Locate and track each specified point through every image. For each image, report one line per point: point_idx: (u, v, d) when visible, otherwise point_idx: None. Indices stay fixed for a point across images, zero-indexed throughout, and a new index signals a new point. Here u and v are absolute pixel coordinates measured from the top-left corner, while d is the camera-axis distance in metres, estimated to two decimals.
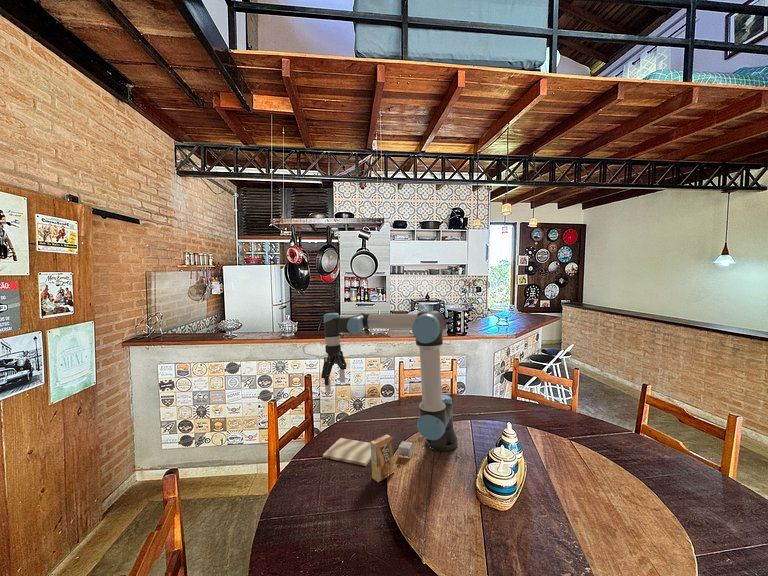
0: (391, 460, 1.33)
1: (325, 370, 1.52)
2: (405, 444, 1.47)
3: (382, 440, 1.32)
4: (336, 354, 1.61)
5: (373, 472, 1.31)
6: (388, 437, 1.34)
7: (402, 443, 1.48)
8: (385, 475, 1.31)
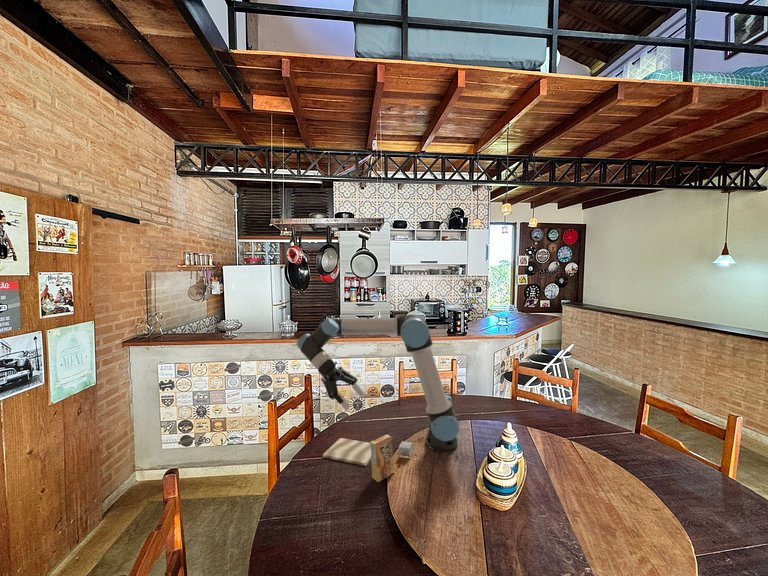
0: (391, 460, 1.33)
1: (329, 388, 1.30)
2: (405, 444, 1.47)
3: (382, 440, 1.32)
4: (334, 370, 1.40)
5: (373, 472, 1.31)
6: (388, 437, 1.34)
7: (402, 443, 1.48)
8: (385, 475, 1.31)
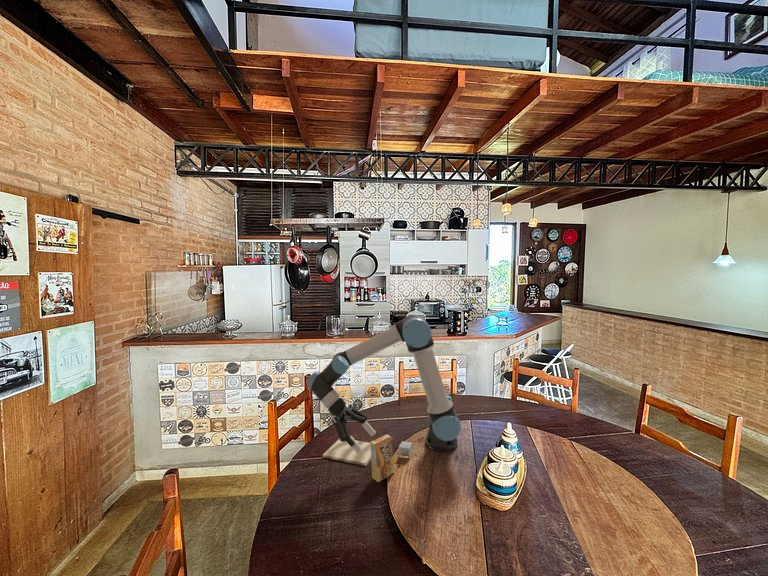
0: (391, 460, 1.33)
1: (340, 431, 1.29)
2: (405, 444, 1.47)
3: (382, 440, 1.32)
4: (344, 410, 1.39)
5: (373, 472, 1.31)
6: (388, 437, 1.34)
7: (402, 443, 1.48)
8: (385, 475, 1.31)
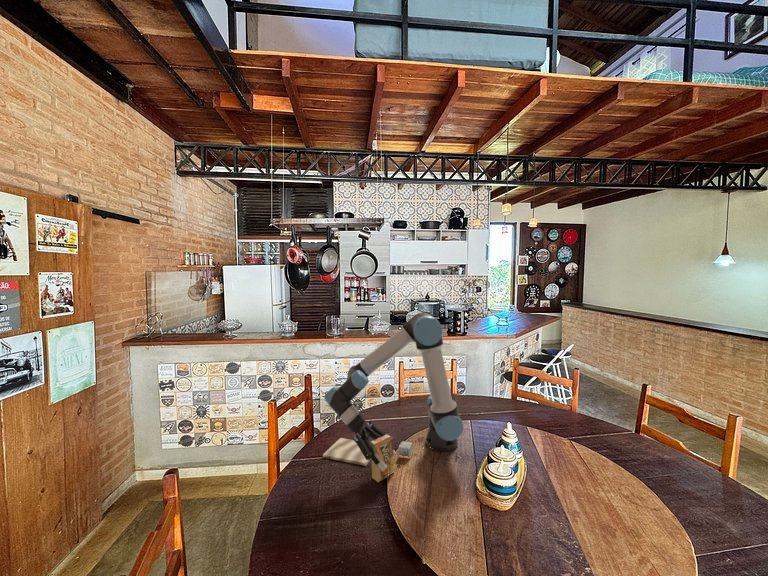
0: (391, 460, 1.33)
1: (364, 449, 1.27)
2: (405, 444, 1.47)
3: (382, 439, 1.32)
4: (363, 425, 1.36)
5: (373, 472, 1.31)
6: (388, 437, 1.34)
7: (402, 443, 1.48)
8: (385, 475, 1.31)
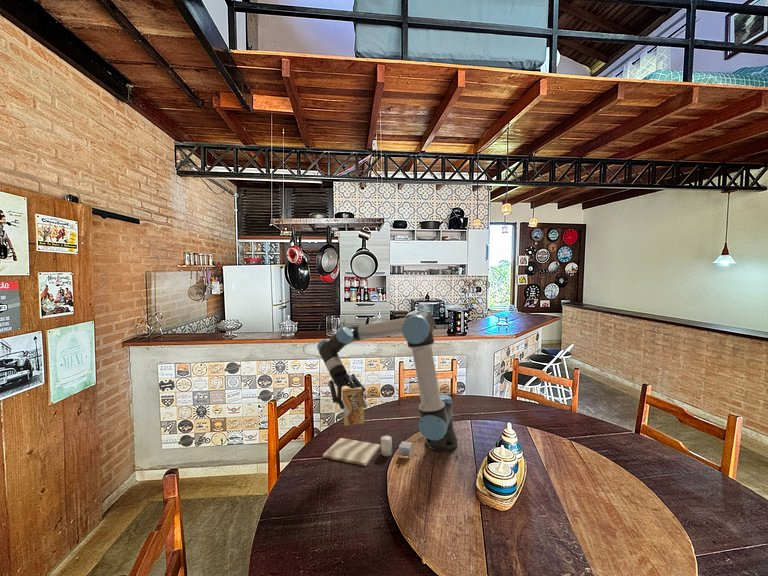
0: (361, 410, 1.44)
1: (332, 393, 1.43)
2: (405, 444, 1.47)
3: (352, 389, 1.44)
4: (343, 375, 1.52)
5: None
6: (359, 389, 1.45)
7: (402, 443, 1.48)
8: (353, 422, 1.44)
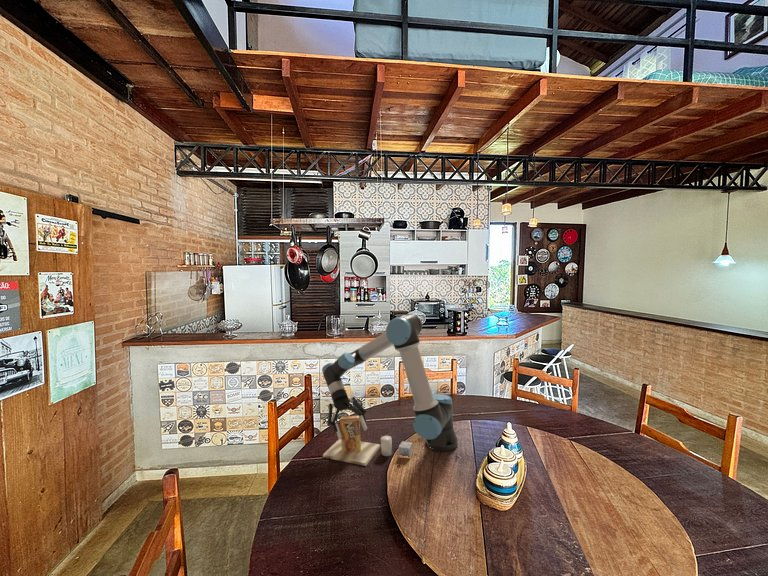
0: (357, 438, 1.50)
1: (328, 416, 1.51)
2: (405, 444, 1.47)
3: (349, 418, 1.51)
4: (343, 400, 1.59)
5: None
6: (356, 418, 1.51)
7: (402, 443, 1.48)
8: (350, 449, 1.50)
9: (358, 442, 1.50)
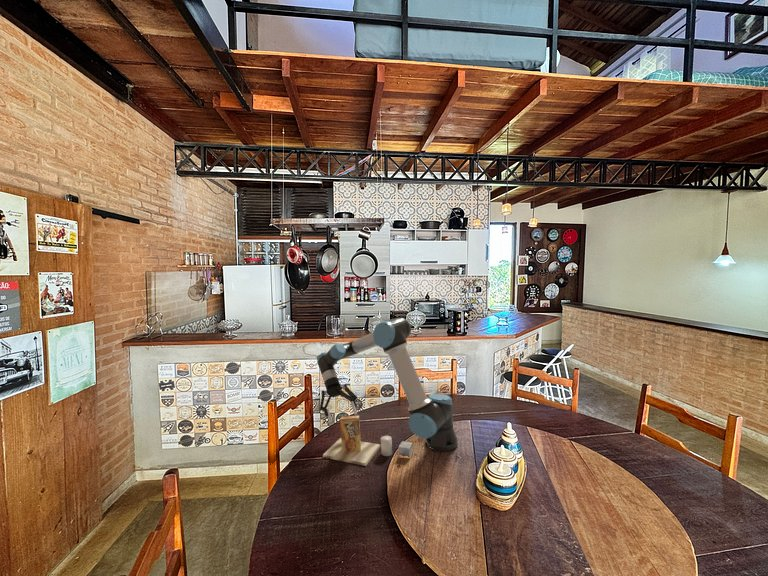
0: (357, 438, 1.50)
1: (321, 402, 1.63)
2: (405, 444, 1.47)
3: (349, 418, 1.51)
4: (335, 387, 1.70)
5: None
6: (356, 418, 1.51)
7: (402, 443, 1.48)
8: (350, 449, 1.50)
9: (358, 442, 1.50)
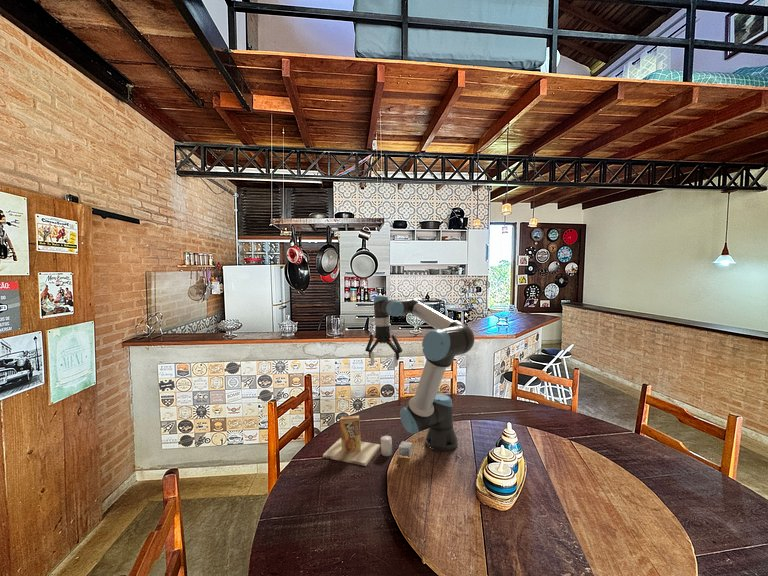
0: (357, 438, 1.50)
1: None
2: (405, 444, 1.47)
3: (349, 418, 1.51)
4: (383, 335, 1.68)
5: None
6: (356, 418, 1.51)
7: (402, 443, 1.48)
8: (350, 449, 1.50)
9: (358, 442, 1.50)
